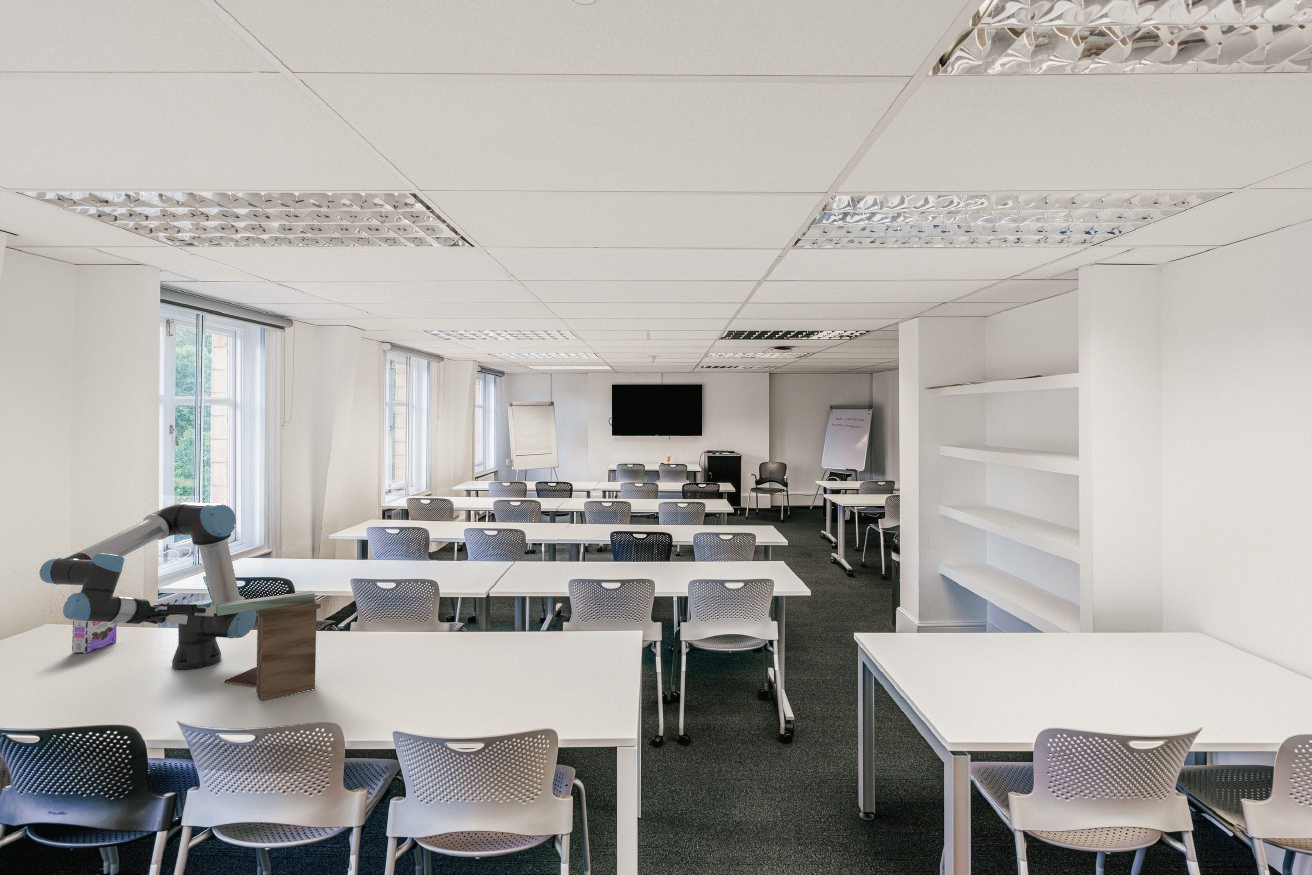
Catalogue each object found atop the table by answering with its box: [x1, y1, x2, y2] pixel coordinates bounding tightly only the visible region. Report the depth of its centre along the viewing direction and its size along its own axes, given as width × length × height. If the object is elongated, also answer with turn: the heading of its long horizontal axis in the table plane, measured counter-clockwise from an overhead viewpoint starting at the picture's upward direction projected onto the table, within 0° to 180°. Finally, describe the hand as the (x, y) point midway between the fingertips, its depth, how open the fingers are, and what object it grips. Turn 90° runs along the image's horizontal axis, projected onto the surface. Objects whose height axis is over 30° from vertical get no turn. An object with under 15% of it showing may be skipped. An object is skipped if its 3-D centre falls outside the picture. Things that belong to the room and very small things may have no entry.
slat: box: [216, 590, 316, 616], centre depth 210 cm, size 4×28×3 cm, turn 131°
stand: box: [255, 598, 322, 702], centre depth 214 cm, size 12×18×30 cm, turn 131°
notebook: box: [223, 666, 257, 688], centre depth 227 cm, size 15×20×2 cm
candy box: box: [71, 620, 117, 654], centre depth 250 cm, size 14×6×16 cm, turn 179°
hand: (199, 616), depth 210 cm, fingers open, 13 cm apart
